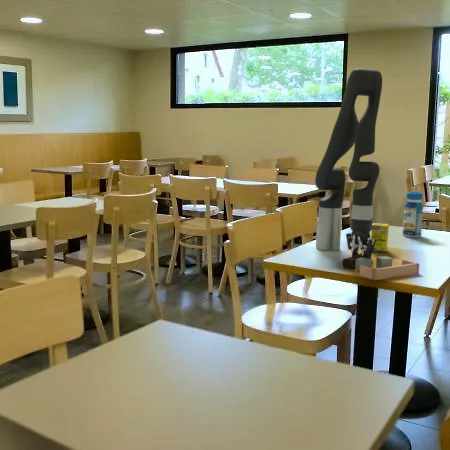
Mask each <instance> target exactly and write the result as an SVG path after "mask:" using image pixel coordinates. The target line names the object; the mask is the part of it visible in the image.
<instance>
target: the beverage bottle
mask: <svg viewBox="0 0 450 450" xmlns="http://www.w3.org/2000/svg"><path fill="white" fill-rule="evenodd" d="M423 196H424V195H423V192H420V191H408V192H407V193H406V200H407V201H406V202H405V204H404V211H403V228H402V235H403V236H404V237H407V238H420V237H422V227H423V225H422V224H423V216H424V212H423V210H424V205H423V203H422V200H423Z"/></svg>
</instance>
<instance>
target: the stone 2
mask: <svg viewBox="0 0 450 450" xmlns="http://www.w3.org/2000/svg"><path fill="white" fill-rule="evenodd" d="M392 266H393V258H392V257H390V256H387V255H386V256H385V255H383V256H376V262H375V268H376V267H377V268H384V267H392ZM377 268H376V269H377Z"/></svg>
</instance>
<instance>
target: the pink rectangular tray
mask: <svg viewBox="0 0 450 450" xmlns="http://www.w3.org/2000/svg"><path fill="white" fill-rule="evenodd" d="M419 271H420V263H418V262H415V261H412V260H408V259H406V258H404V259H402V260H401V265H392V267H384V268H373V267H372V268H370V267H367V266H364V265H360V271H359V276H361V277H363V278H365V279H368V280H371V281H377V280H384V279H391V278H399V277H405V276H410V275H418V274H419Z"/></svg>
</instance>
